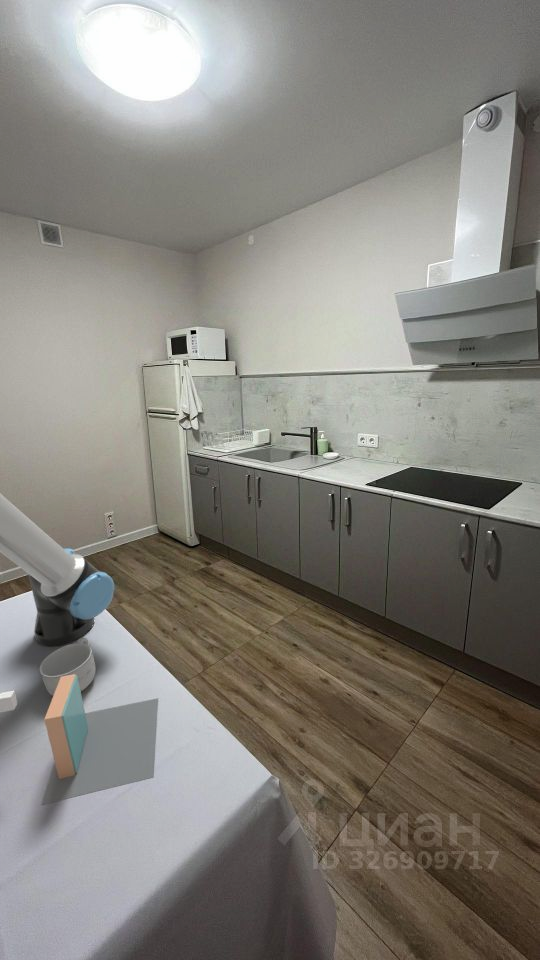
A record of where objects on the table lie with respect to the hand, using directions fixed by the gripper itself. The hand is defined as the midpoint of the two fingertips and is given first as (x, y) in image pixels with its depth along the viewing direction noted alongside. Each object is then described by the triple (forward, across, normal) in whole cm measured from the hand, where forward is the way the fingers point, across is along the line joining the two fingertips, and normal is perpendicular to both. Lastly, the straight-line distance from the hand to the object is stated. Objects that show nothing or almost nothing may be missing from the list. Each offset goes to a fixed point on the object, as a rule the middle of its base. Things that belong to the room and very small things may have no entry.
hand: (14, 700), depth 69 cm
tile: (+7, -1, -14) cm, 16 cm away
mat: (+13, -1, -15) cm, 20 cm away
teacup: (+3, -21, -15) cm, 26 cm away
